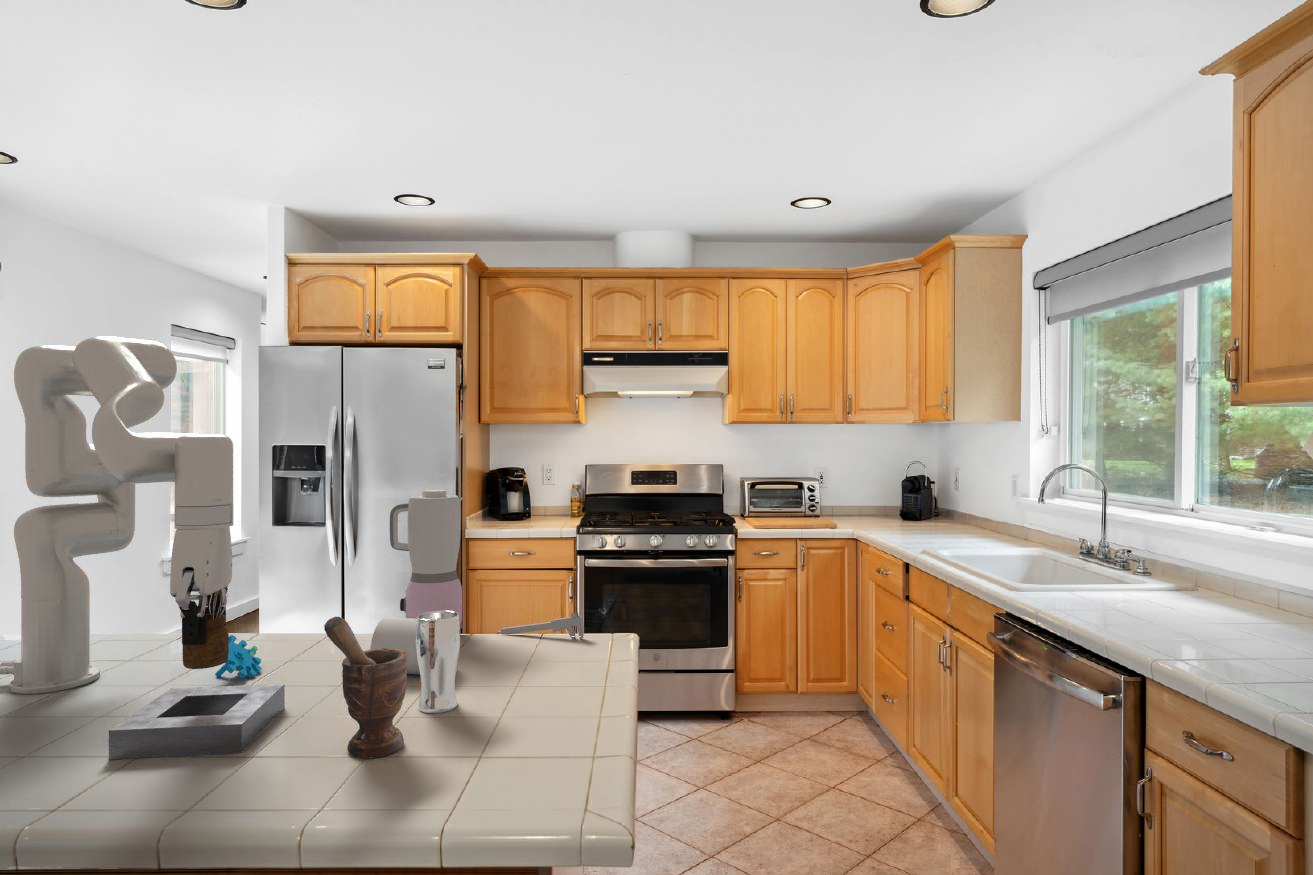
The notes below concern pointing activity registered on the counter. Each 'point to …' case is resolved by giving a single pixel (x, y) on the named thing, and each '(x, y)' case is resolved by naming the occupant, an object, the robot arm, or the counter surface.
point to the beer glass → (437, 659)
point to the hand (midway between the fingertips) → (204, 637)
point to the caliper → (551, 626)
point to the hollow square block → (197, 721)
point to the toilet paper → (398, 639)
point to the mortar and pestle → (370, 691)
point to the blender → (431, 552)
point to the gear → (241, 659)
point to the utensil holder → (209, 644)
